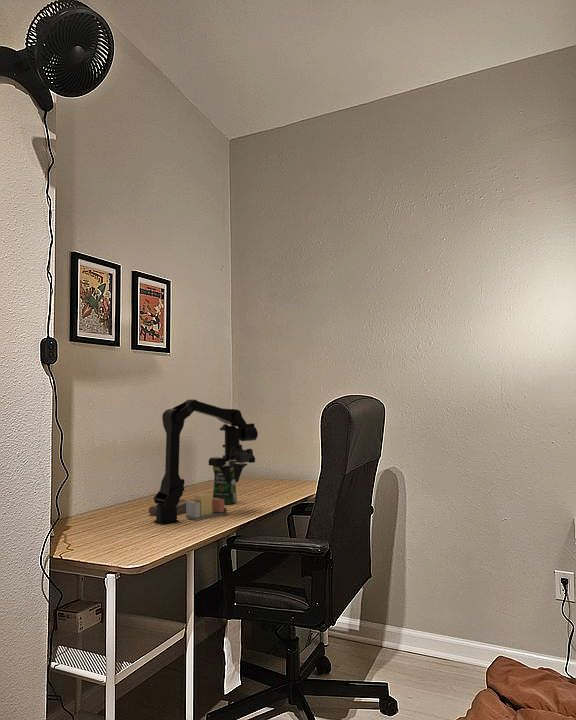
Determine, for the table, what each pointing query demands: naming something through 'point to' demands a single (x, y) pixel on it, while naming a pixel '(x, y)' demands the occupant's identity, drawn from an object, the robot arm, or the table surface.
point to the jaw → (217, 505)
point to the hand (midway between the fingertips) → (232, 482)
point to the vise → (194, 511)
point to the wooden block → (180, 507)
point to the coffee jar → (224, 486)
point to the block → (204, 503)
